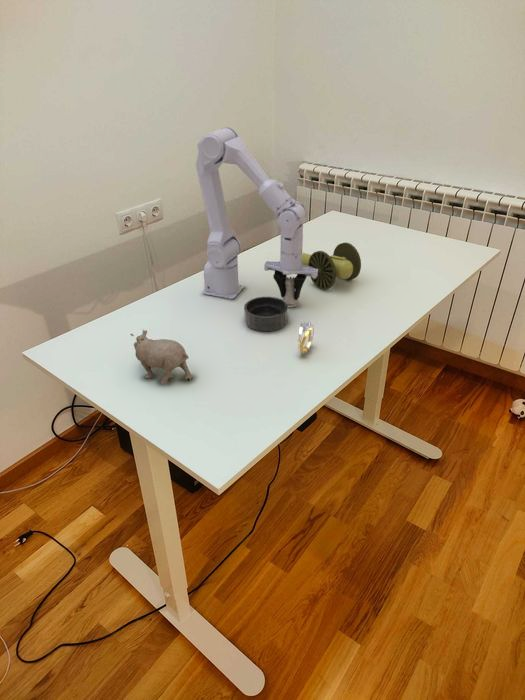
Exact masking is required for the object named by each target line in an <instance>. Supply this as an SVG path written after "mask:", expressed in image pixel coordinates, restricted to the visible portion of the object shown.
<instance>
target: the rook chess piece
mask: <svg viewBox="0 0 525 700" xmlns="http://www.w3.org/2000/svg"><path fill="white" fill-rule="evenodd" d="M294 278H295V277H294V276H287V278H286V280H285V283H286V286H285V287H286V293H285V296H284V297H282V300H283V301H284V302H285V303H286V304H287V306H288V308H287V309H293V308H296V307H297V306H298V305H299V298H298V299H297V300H295V283H294Z"/></svg>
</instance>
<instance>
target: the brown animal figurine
mask: <svg viewBox="0 0 525 700" xmlns="http://www.w3.org/2000/svg"><path fill="white" fill-rule="evenodd" d="M147 334H148V330H146V329H142V334H140V335H137V336H136V338H135V342H134V343H133V346H134V350H135V352H134V353H135V357H136V359H137V361H139V362H140V364H141V366H142V367H143V368H144V370H145V372H146V375H145V376H144V377H143V378H144V379H153V377H154V373H153V370H152V369H161V370H164V371H165V372H164V374H163V377H162V378H161V379H160V381H159V382H160V383H161V385H164V384H168V383H169V381H170V379H171V378H172V377H173V376H174V374H173V370H175V369H177V368H180V369H181V370H182V371H183V372H184V378H183V381H184V382H190V381H191V380H192V379H193V376H192V375H191V373H190V369H189V367H188V364H187V360H188V359H189V355H188V354H187V353H186V349H185V348H184V346H183V345H182V344H181V343H179V342H178V341H176V340H173V339H168V338H166V339H165V338H161V339H152V338H151V339H150V338H148V337H147ZM130 336H131V337H135V335H134V334H133V333H130ZM188 379H189V380H188Z"/></svg>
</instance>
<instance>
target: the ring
mask: <svg viewBox="0 0 525 700" xmlns="http://www.w3.org/2000/svg"><path fill="white" fill-rule="evenodd" d="M303 333H305V334H304V335H303ZM314 335H315V326H314V324H312V323H310V321H307V323H306V322H305V321H304V322H303V323H300V324H299V331H298V340H297V350H298V352H299V354H304V355H305V354H307V353H308V351H309V350H310V348H311V346H312V343H313V341H314ZM307 337H308V338H307ZM306 339H308V340H307V343H306V345H305V342H306ZM304 345H305V347H304Z"/></svg>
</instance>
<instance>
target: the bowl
mask: <svg viewBox="0 0 525 700" xmlns="http://www.w3.org/2000/svg"><path fill="white" fill-rule="evenodd" d="M288 309H289V308H288V306H287V304H286V303H285V302H284V301H283V299H281V298H278V297H274V296H258V297H254V298H251V299H249V300H248V301H246V302H245V304H244V307H243V314H244V315H243V316H244V317H243V318H244V323H245V325H246V326H248V327H249V328H251V329H253V330H256V331H261V332H269V331H275V330H279V329H281V328H282V327H284V326H285V325H287V323H288Z"/></svg>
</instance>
